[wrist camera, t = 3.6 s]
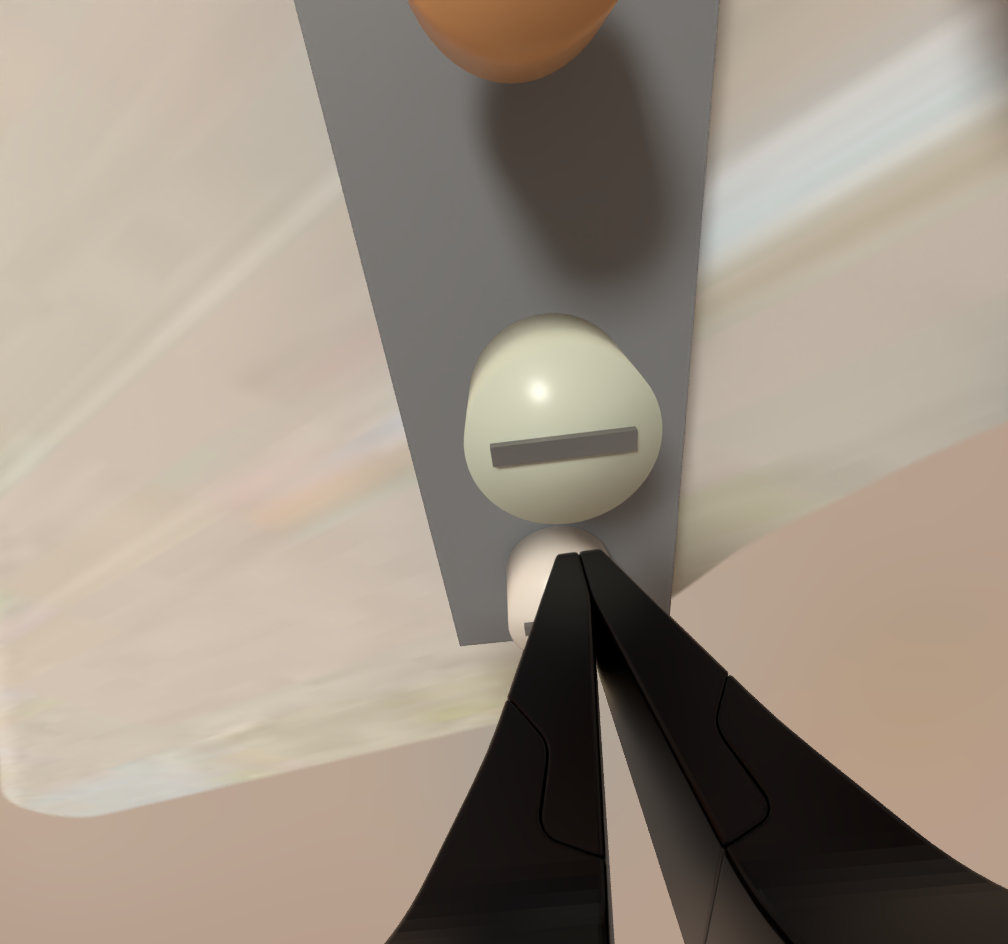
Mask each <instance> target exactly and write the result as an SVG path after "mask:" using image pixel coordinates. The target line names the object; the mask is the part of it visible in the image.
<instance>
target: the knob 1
mask: <svg viewBox="0 0 1008 944" xmlns="http://www.w3.org/2000/svg"><path fill="white" fill-rule="evenodd" d="M407 1H408V3H409V6H410V8H411V10H412V11H413V13H414V15H415V17H416V19H417V20H418V22H419V24H420V26H421V27H422V29H423V30H424V31H425V33H426V34H427V36H428V37H429V38H430V40H431V41H432V42H433V43H434V44H435V46H436V47H437V48H438V49H439V50H440V51H441V52H442V53H443V54H444V55H445V56H446V57H447V58H449V59H450V60H451V61H452V62H453V63H454V64H456V65H457V66H459V67H460V68H462V69H464V70H465V71H467V72H468V73H470V74H473V75H475V76H477V77H479V78H482V79H485V80H489V81H493V82H498V83H508V84H512V83H525V82H529V81H533V80H537V79H540V78H542V77H545V76H547V75H549V74H552V73H553V72H555V71H557V70H558V69H560V68H562V67H563V66H565V65H566V64H567V63H569V62H570V61H571V60H572V59H573V58H575V57H576V56H577V55H578V54H579V53H580V52H581V51H582V50H583V49H584V48H585V47H586V46H587V45H588V44H589V42H590V41H591V40H592V38H593V37H594V36H595V34H596V33H597V32H598V30H599V29H600V27H601V26H602V24H603V23H604V21H605V20H606V18H607V17H608V15H609V14H610V12H611V11H612V9H613V8H614V6H615V5H616V3H617V2H618V0H407Z"/></svg>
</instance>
